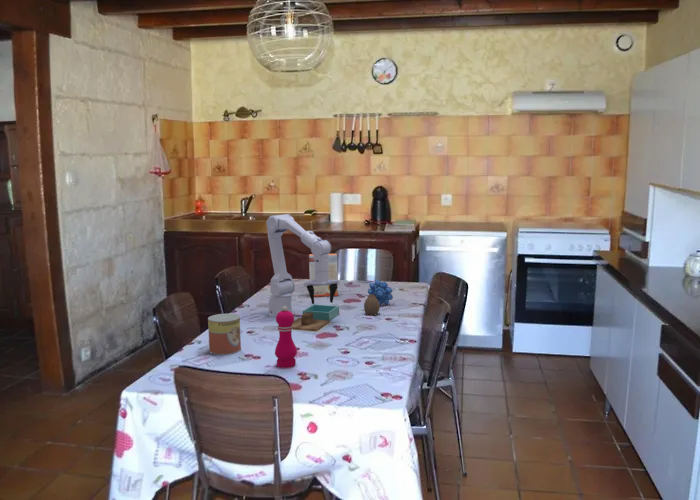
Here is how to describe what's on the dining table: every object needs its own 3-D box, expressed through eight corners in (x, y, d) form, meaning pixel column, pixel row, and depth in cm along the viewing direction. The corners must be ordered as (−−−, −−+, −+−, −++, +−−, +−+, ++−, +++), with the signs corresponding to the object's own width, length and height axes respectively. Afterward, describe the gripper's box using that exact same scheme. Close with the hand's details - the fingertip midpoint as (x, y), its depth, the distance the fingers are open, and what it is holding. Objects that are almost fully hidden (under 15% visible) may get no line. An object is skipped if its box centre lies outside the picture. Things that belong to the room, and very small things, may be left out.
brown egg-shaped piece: (378, 316, 264) (378, 296, 263) (362, 315, 265) (362, 296, 264) (380, 312, 271) (380, 293, 269) (365, 312, 272) (365, 292, 271)
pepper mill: (275, 361, 206) (274, 303, 203) (297, 360, 207) (295, 303, 204) (274, 369, 199) (273, 309, 196) (297, 368, 200) (295, 308, 197)
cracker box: (337, 293, 309) (337, 252, 306) (338, 296, 303) (337, 254, 300) (309, 294, 308) (309, 253, 305) (309, 297, 302) (309, 255, 299)
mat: (280, 330, 244) (280, 328, 244) (297, 320, 259) (297, 319, 259) (317, 333, 239) (317, 332, 239) (332, 323, 254) (332, 322, 254)
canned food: (225, 356, 212) (224, 323, 210) (202, 351, 218) (200, 318, 216) (247, 348, 222) (246, 315, 220) (224, 343, 228) (223, 312, 226)
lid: (284, 328, 245) (283, 316, 244) (298, 319, 258) (298, 308, 257) (316, 331, 240) (316, 319, 239) (329, 322, 253) (329, 311, 252)
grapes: (367, 307, 280) (367, 281, 278) (368, 303, 287) (367, 278, 285) (392, 307, 279) (392, 281, 278) (392, 304, 286) (392, 278, 284)
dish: (302, 319, 259) (302, 310, 259) (313, 313, 271) (313, 304, 270) (329, 322, 255) (329, 312, 255) (339, 315, 267) (339, 306, 266)
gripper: (305, 273, 244) (306, 306, 246) (341, 271, 247) (341, 303, 249) (302, 269, 250) (303, 302, 252) (337, 268, 254) (337, 300, 256)
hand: (322, 302), depth 251 cm, fingers open, 7 cm apart
